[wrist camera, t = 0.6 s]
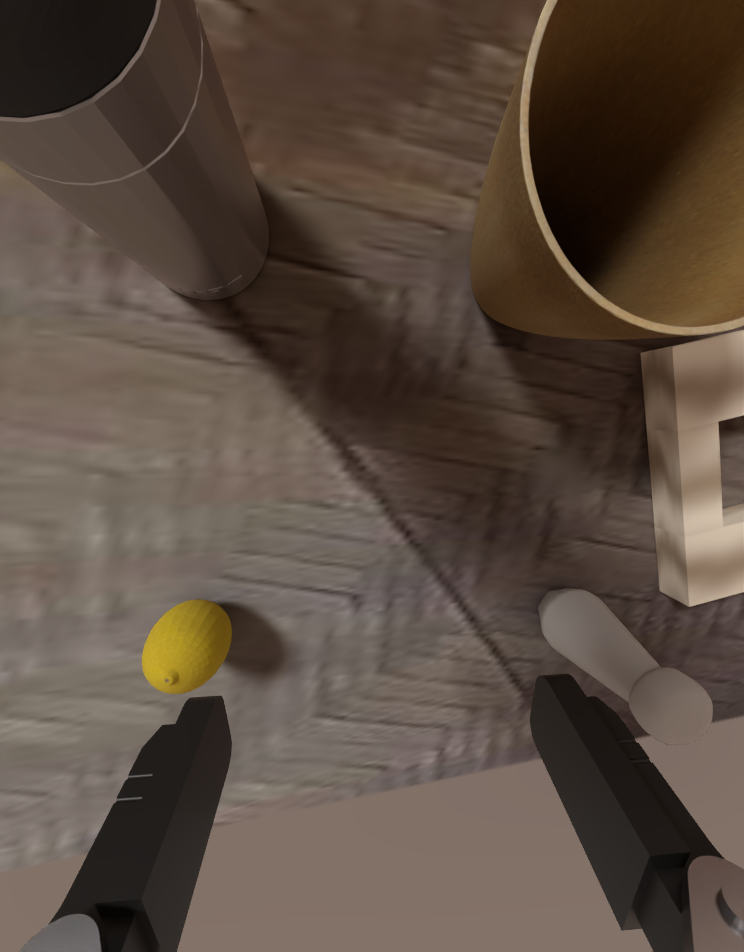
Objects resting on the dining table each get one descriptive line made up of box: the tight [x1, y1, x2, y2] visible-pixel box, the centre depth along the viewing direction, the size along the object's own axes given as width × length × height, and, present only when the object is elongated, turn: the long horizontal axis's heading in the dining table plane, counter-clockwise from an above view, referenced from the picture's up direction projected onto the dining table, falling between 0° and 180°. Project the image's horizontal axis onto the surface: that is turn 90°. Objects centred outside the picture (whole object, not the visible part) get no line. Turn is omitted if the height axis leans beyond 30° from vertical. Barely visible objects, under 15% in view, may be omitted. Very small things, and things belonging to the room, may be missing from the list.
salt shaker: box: [537, 588, 713, 745], centre depth 28 cm, size 6×6×13 cm
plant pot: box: [471, 0, 744, 340], centre depth 21 cm, size 15×15×16 cm
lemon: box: [142, 599, 232, 694], centre depth 27 cm, size 6×6×8 cm
